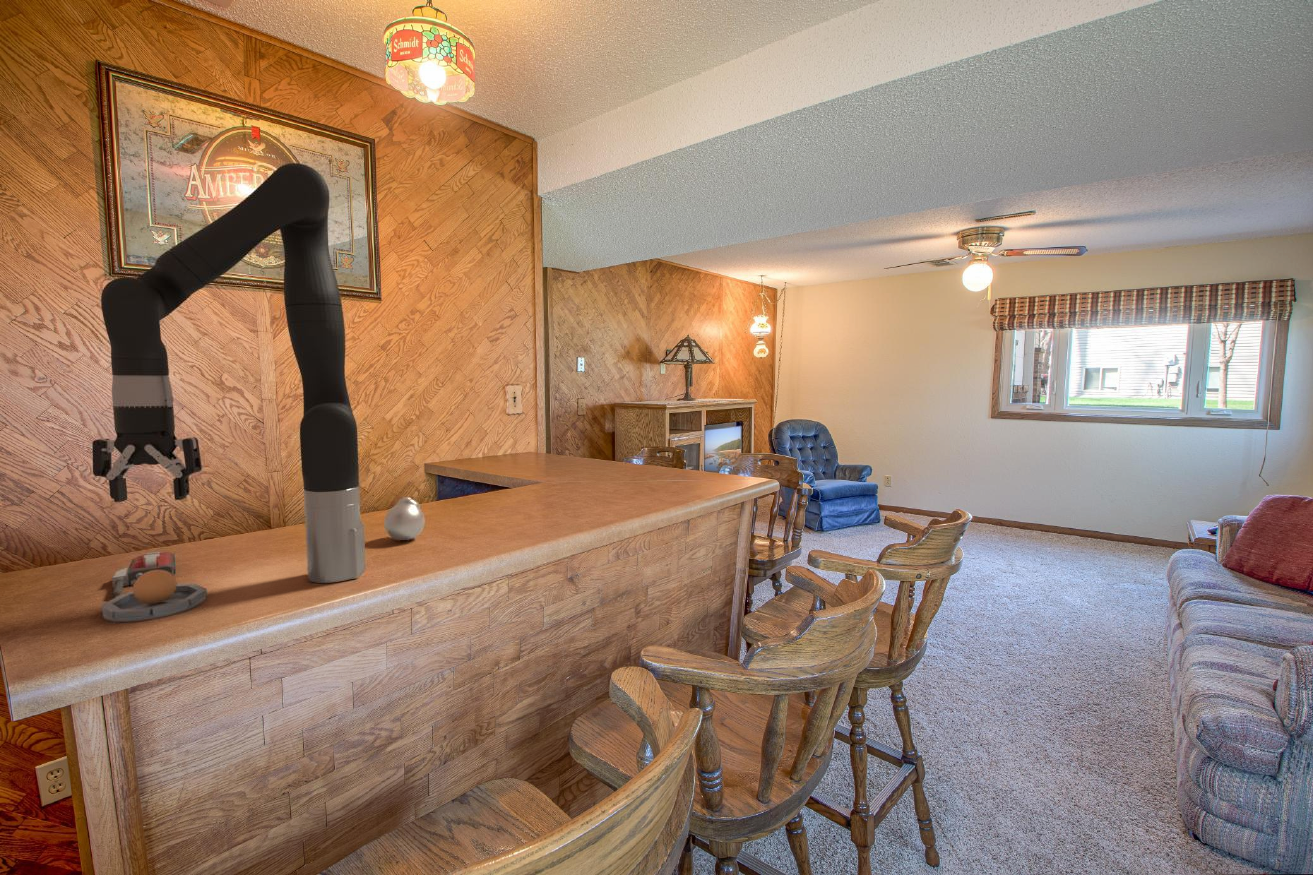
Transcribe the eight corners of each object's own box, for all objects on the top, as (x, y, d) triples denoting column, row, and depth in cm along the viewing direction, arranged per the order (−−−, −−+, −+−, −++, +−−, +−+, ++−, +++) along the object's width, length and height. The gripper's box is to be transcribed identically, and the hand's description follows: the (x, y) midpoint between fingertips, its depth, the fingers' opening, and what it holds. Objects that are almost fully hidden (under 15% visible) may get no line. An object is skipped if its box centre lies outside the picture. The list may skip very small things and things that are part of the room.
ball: (184, 595, 100) (183, 564, 100) (165, 608, 95) (163, 575, 95) (147, 597, 99) (145, 566, 99) (125, 610, 94) (123, 576, 93)
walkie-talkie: (118, 572, 115) (108, 603, 99) (116, 550, 114) (106, 577, 99) (176, 564, 120) (175, 591, 105) (175, 543, 120) (173, 567, 104)
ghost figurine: (435, 537, 142) (434, 496, 141) (403, 547, 133) (402, 503, 132) (408, 532, 145) (406, 493, 144) (375, 542, 137) (374, 500, 136)
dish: (221, 589, 105) (220, 581, 105) (179, 618, 92) (178, 608, 92) (136, 594, 102) (135, 586, 102) (81, 625, 90) (80, 615, 89)
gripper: (75, 404, 91) (84, 506, 93) (181, 404, 95) (188, 503, 96) (107, 402, 99) (115, 497, 100) (205, 402, 102) (211, 494, 103)
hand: (151, 500), depth 98 cm, fingers open, 8 cm apart
